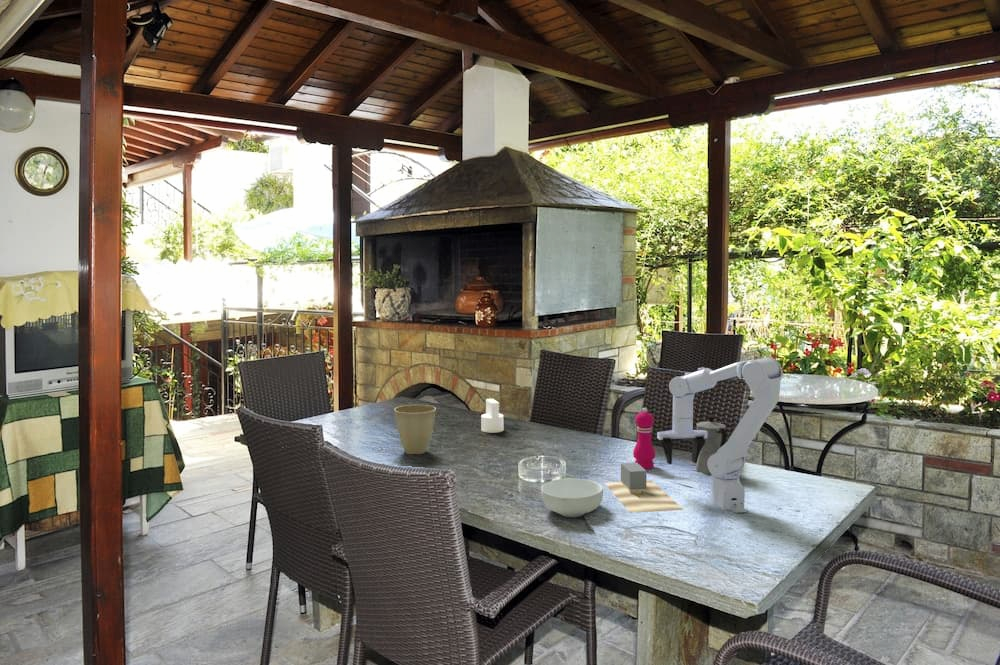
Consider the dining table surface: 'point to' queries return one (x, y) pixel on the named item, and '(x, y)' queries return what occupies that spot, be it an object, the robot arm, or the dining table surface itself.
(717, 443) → the coffeepot
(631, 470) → the block
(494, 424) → the base with upright slab
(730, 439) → the robot arm
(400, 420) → the plant pot
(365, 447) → the dining table surface
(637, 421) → the pepper mill
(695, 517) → the dining table surface
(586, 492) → the cereal bowl
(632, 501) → the birch board
